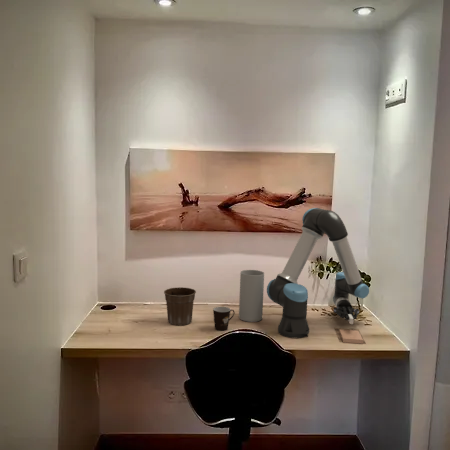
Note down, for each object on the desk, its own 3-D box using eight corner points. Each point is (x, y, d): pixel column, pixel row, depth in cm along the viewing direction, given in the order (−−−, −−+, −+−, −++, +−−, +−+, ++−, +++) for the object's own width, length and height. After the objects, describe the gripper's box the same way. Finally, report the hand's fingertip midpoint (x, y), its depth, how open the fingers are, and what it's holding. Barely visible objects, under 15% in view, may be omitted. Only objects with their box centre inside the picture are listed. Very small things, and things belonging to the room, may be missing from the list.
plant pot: (157, 323, 230) (157, 292, 228) (175, 314, 244) (175, 285, 242) (184, 329, 222) (184, 297, 220) (201, 320, 237) (201, 290, 234)
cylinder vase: (253, 324, 233) (255, 276, 230) (234, 318, 241) (235, 272, 237) (266, 318, 243) (268, 272, 240) (247, 313, 251) (249, 268, 247)
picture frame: (339, 329, 221) (343, 338, 209) (358, 330, 220) (363, 339, 208) (339, 333, 221) (342, 342, 209) (358, 334, 220) (362, 343, 208)
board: (333, 329, 229) (334, 327, 228) (358, 331, 227) (358, 329, 227) (339, 344, 210) (339, 341, 210) (365, 346, 209) (366, 343, 208)
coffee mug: (214, 332, 220) (214, 312, 219) (211, 326, 228) (211, 306, 227) (237, 331, 222) (238, 311, 221) (233, 325, 231) (234, 306, 229)
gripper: (356, 314, 239) (365, 329, 215) (330, 312, 240) (337, 328, 217) (357, 300, 238) (366, 314, 214) (331, 298, 239) (338, 312, 216)
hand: (351, 321), depth 215 cm, fingers closed
